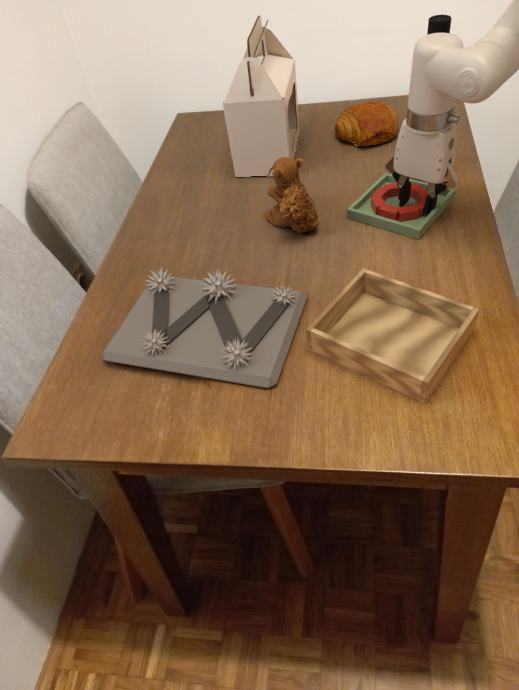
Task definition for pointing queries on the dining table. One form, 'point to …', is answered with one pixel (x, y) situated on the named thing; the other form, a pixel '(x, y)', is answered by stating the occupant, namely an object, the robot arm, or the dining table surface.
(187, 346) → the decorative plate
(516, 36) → the robot arm
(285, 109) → the gable box
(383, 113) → the croissant
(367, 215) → the tray
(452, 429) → the dining table surface
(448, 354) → the crate
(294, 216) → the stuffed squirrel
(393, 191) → the ring
